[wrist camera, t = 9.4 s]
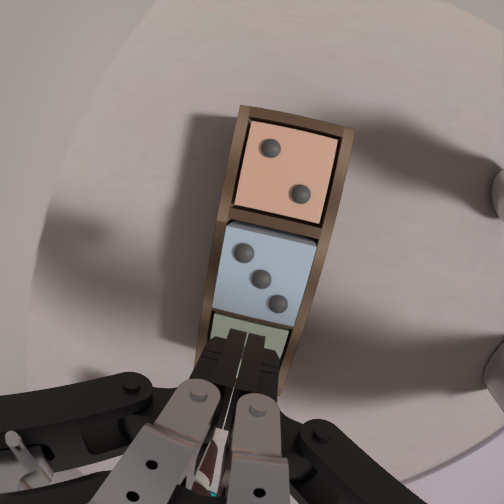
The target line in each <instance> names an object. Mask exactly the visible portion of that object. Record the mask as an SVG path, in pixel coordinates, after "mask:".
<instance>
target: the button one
mask: <svg viewBox="0 0 504 504" xmlns="http://www.w3.org/2000/svg"><path fill="white" fill-rule="evenodd" d="M230 328H233V329H237V330H241V331H245V332H247V336H246V340H245V344H244V348H243V352H242V356H241V360H240V364H239V368H238V372H239V369H240V365H241V361H242V357H243V353H244V349H245V346H246V342H247V338H248V334H249V333H253V334H258V335H262V336H266V338H265V345H264V348H266V349H271V350H275V351H276V353H277V354H278V356H279V358H281V355H282V352H283V349H284V346H285V342H286V339H287V336H288V333H289V329H288V328H283V327H279V326H274V325H270V324H265V323H261V322H257V321H253V320H248V319H244V318H240V317H236V316H232V315H228V314H224V313H220V312H215V314H214V319H213V325H212V331H211V337H210V339H212V338H213V337H215V336H217V337H221V338H225V339H226V338H227V336H228V333H229V330H230ZM238 372H237V376H238ZM237 376H236V378H237Z"/></svg>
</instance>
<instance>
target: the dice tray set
mask: <svg viewBox="0 0 504 504" xmlns="http://www.w3.org/2000/svg"><path fill="white" fill-rule="evenodd" d="M252 121H255V122H261V123H266V124H272V125H277V126H282V127H286V128H291V129H296V130H300V131H305V132H309V133H313V134H317V135H321V136H325V137H329V138H332V139H336V140H338V142H337V147H336V152H335V157H334V161H333V166H332V171H331V175H330V180H329V184H328V189H327V193H326V197H325V202H324V206H323V210H322V214H321V218H320V222H319V224H318V223H314V222H310V221H306V220H302V219H297V218H293V217H289V216H285V215H280V214H276V213H271V212H267V211H263V210H258V209H254V208H249V207H244V206H240V205H235V199H236V194H237V189H238V184H239V179H240V174H241V169H242V165H243V160H244V155H245V150H246V146H247V141H248V136H249V132H250V127H251V122H252ZM354 133H355V130H353V129H349V128H346V127H342V126H339V125H335V124H332V123H328V122H324V121H320V120H316V119H312V118H307V117H303V116H299V115H294V114H289V113H285V112H279V111H274V110H269V109H263V108H257V107H251V106H245V105H240V108H239V112H238V117H237V121H236V126H235V130H234V135H233V139H232V144H231V149H230V154H229V158H228V163H227V168H226V173H225V178H224V183H223V188H222V193H221V199H220V204H219V209H218V215H217V220H216V226H215V231H214V237H213V243H212V249H211V254H210V260H209V266H208V273H207V279H206V285H205V292H204V298H203V305H202V312H201V319H200V326H199V333H198V340H197V348H196V355H195V363H194V368H195V365H196V363H197V361H198V359H199V357H200V356H201V353H202V351H203V349H204V347H205V345H206V343H207V341H208V340H210V337H211V331H212V325H213V319H214V314H215V312H220V313H224V314H228V315H232V316H236V317H240V318H244V319H248V320H253V321H257V322H261V323H265V324H270V325H274V326H279V327H283V328H288V329H289V333H288V336H287V339H286V342H285V346H284V349H283V352H282V355H281V358H280V364H279V375H278V376H279V379H278V393H277V396H279V395H280V393H281V390H282V388H283V385H284V382H285V380H286V377H287V374H288V372H289V369H290V366H291V364H292V361H293V358H294V355H295V352H296V349H297V347H298V344H299V341H300V338H301V335H302V332H303V329H304V326H305V323H306V320H307V317H308V314H309V311H310V308H311V304H312V301H313V298H314V295H315V291H316V288H317V285H318V282H319V278H320V275H321V271H322V268H323V264H324V261H325V257H326V254H327V250H328V246H329V243H330V239H331V235H332V231H333V227H334V224H335V220H336V216H337V212H338V207H339V203H340V199H341V195H342V191H343V186H344V182H345V177H346V173H347V168H348V163H349V158H350V154H351V149H352V143H353V138H354ZM234 220H237V221H241V222H246V223H250V224H255V225H259V226H263V227H268V228H272V229H276V230H281V231H285V232H289V233H294V234H298V235H302V236H306V237H310V238H313V239H314V242H315V244H316V246H317V248H316V251H315V255H314V259H313V262H312V266H311V270H310V273H309V277H308V280H307V284H306V287H305V291H304V294H303V297H302V301H301V304H300V307H299V311H298V314H297V317H296V321H295V324H294V327H293V326H289V325H284V324H279V323H275V322H270V321H266V320H262V319H257V318H253V317H249V316H245V315H241V314H237V313H233V312H229V311H225V310H221V309H217V308H213V307H212V305H213V299H214V293H215V287H216V281H217V275H218V270H219V264H220V259H221V253H222V248H223V242H224V237H225V231H226V226H227V225H228V224H230V223H231V222H232V221H234ZM236 380H237V378H236V379H235V383H234V387H235V384H236Z"/></svg>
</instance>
